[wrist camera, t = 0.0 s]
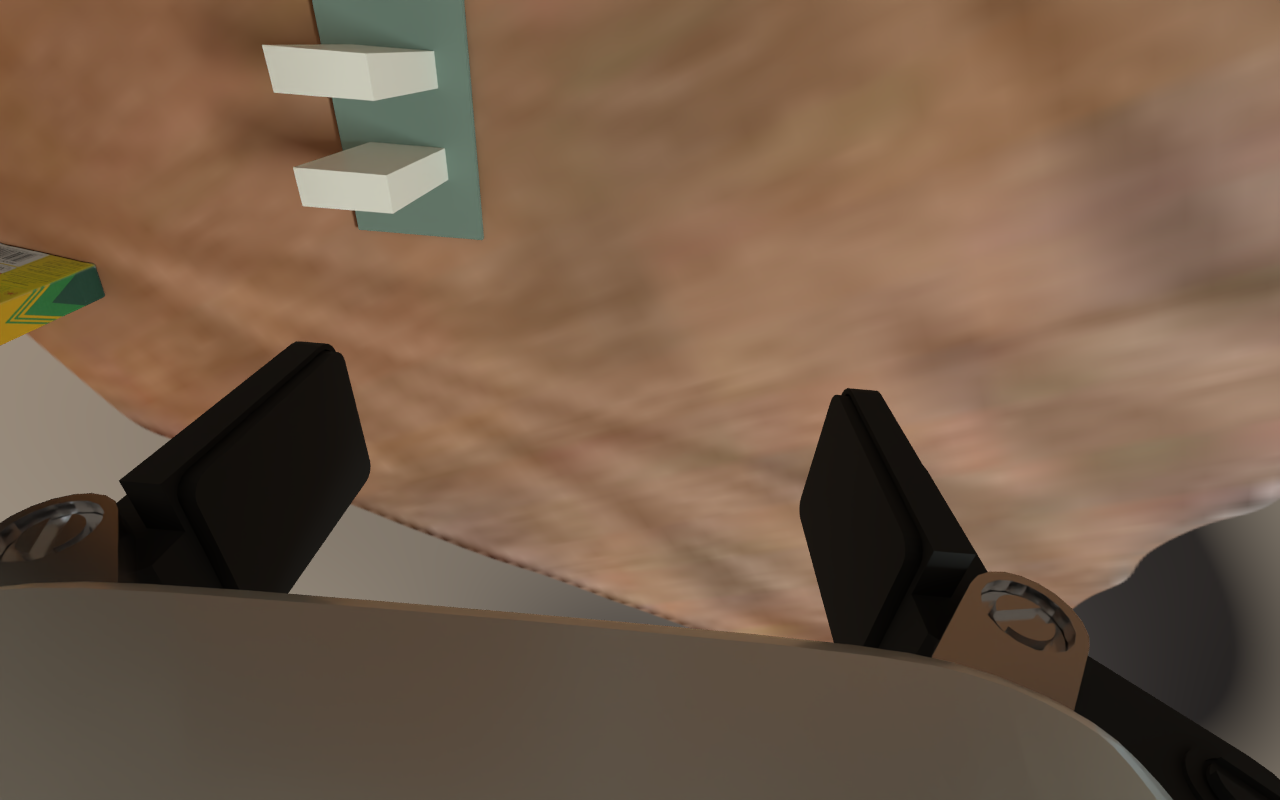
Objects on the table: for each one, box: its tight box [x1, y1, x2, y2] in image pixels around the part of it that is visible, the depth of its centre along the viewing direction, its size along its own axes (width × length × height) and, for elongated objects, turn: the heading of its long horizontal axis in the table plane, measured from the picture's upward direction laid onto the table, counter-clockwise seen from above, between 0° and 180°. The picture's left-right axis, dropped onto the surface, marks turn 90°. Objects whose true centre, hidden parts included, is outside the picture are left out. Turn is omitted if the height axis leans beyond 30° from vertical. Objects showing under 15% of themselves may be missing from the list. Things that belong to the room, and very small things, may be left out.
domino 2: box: [293, 142, 448, 214], centre depth 34 cm, size 2×5×9 cm, turn 86°
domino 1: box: [262, 44, 438, 101], centre depth 31 cm, size 2×5×9 cm, turn 86°
